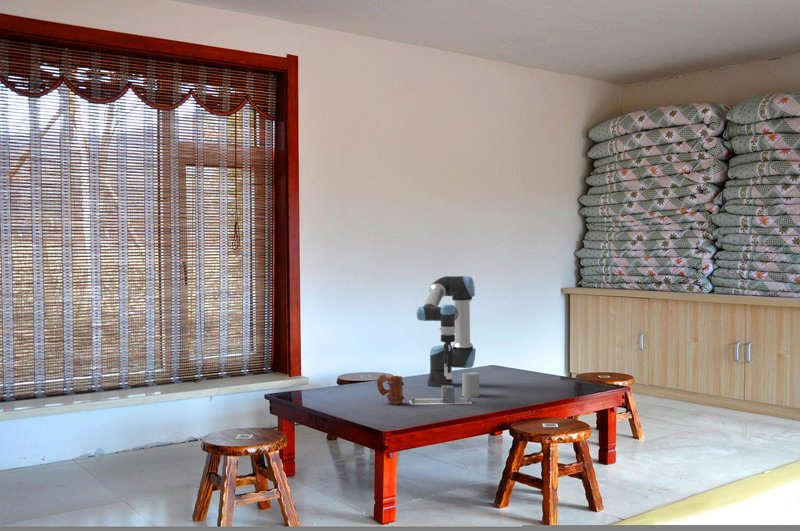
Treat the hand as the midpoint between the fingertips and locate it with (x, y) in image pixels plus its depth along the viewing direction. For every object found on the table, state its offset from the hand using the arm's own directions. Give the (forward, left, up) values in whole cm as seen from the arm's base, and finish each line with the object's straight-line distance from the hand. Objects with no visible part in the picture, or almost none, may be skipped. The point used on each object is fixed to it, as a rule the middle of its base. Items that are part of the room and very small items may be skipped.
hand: (447, 377), depth 406 cm
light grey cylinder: (-18, +15, -13) cm, 27 cm away
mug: (0, -30, -13) cm, 33 cm away
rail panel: (0, -4, -13) cm, 14 cm away
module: (0, 0, -13) cm, 13 cm away
